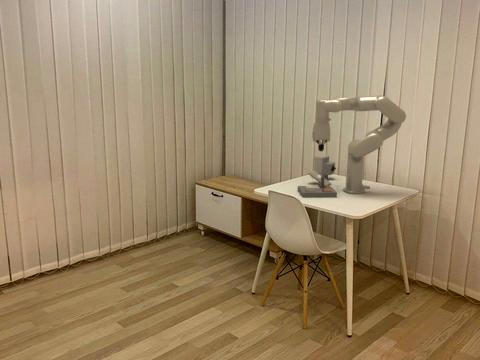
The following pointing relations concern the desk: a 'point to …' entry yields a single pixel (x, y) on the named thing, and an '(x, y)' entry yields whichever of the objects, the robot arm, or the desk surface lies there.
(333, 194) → the dark grey tray
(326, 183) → the pale slanted lever
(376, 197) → the desk surface
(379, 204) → the desk surface
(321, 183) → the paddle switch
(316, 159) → the circuit breaker
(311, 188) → the grey button
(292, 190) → the desk surface
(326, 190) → the copper button
